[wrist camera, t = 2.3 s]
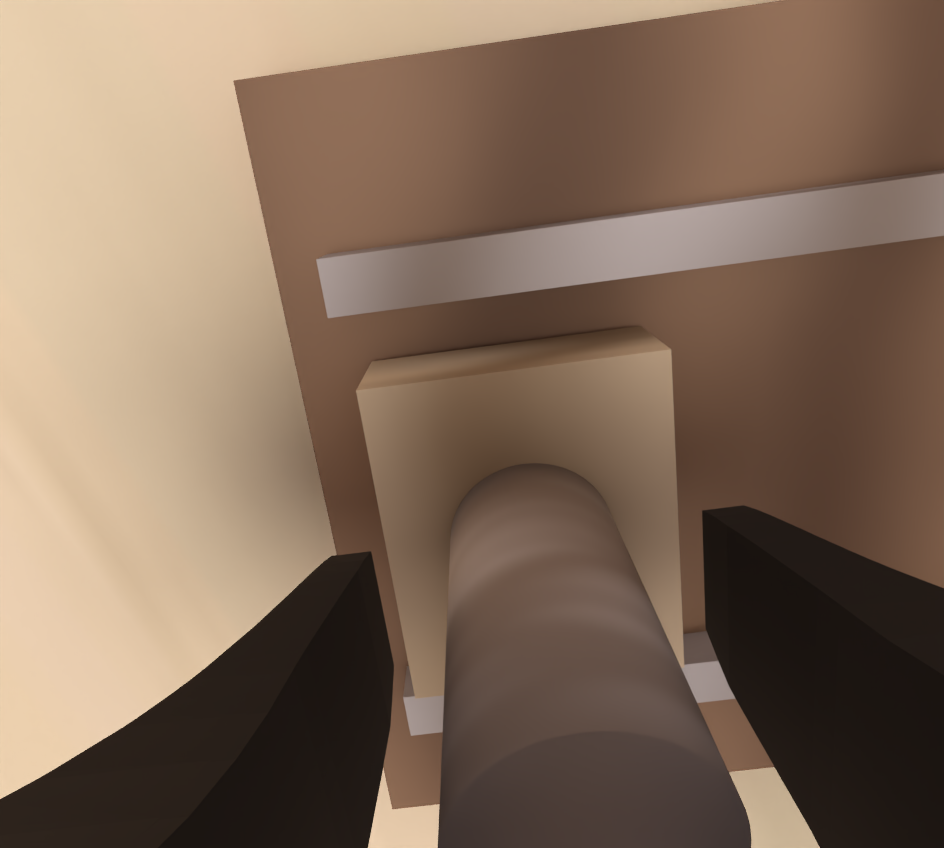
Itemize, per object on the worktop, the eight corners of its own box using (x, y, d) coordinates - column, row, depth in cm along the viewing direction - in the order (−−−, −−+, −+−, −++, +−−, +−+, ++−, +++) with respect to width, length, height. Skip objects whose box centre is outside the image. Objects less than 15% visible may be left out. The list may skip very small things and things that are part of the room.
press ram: (640, 325, 13) (897, 521, 5) (655, 606, 15) (861, 1050, 7) (371, 361, 13) (240, 602, 5) (421, 634, 15) (375, 1097, 7)
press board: (1469, -84, 12) (2032, -238, 8) (1264, 662, 17) (1538, 824, 13) (258, 92, 13) (152, 42, 9) (398, 760, 18) (376, 946, 14)
